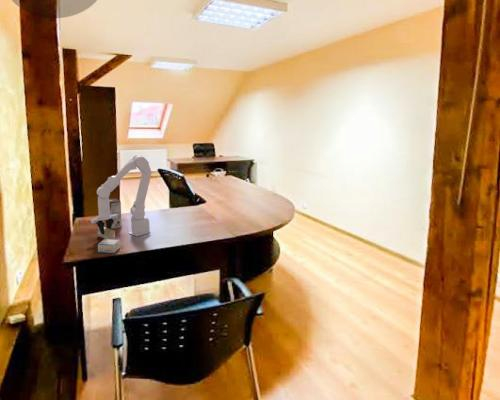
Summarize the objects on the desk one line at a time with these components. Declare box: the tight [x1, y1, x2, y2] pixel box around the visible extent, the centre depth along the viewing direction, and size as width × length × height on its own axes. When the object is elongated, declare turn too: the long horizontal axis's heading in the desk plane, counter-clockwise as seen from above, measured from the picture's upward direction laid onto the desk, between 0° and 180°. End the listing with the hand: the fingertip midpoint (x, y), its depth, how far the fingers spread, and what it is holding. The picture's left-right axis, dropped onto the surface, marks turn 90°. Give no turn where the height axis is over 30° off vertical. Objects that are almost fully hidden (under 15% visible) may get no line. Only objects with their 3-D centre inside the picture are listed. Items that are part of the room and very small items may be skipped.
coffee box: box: [109, 198, 123, 229], centre depth 220 cm, size 9×6×16 cm
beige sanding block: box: [97, 226, 116, 240], centre depth 200 cm, size 3×12×5 cm, turn 52°
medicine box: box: [97, 238, 121, 254], centre depth 182 cm, size 8×4×9 cm
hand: (105, 233), depth 200 cm, fingers closed on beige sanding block, 3 cm apart
